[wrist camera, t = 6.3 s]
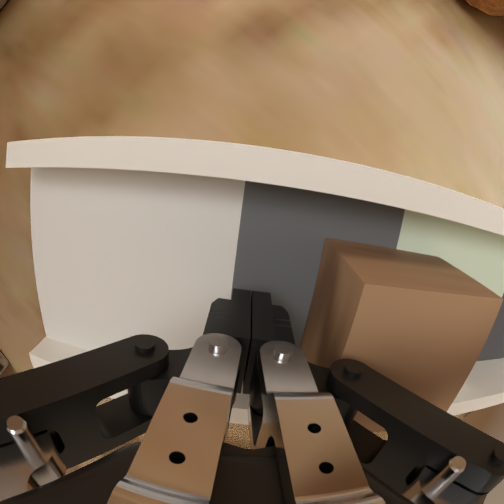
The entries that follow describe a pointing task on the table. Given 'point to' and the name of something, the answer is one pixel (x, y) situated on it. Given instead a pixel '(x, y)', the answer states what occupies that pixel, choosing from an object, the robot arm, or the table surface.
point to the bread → (488, 6)
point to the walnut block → (398, 318)
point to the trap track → (226, 238)
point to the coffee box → (3, 363)
